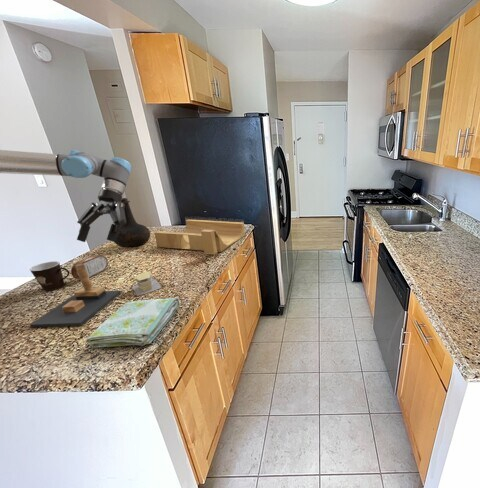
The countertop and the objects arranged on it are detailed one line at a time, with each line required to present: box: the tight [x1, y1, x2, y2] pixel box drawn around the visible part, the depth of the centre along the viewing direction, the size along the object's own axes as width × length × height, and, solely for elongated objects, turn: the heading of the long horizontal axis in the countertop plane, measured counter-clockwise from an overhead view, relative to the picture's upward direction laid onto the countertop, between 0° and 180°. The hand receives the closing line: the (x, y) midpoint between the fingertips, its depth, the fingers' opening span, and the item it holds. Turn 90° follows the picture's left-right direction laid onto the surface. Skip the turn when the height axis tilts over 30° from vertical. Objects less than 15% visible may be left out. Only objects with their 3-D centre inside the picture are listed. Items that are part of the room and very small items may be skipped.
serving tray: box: [29, 290, 122, 328], centre depth 96 cm, size 16×20×1 cm
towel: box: [84, 297, 180, 349], centre depth 86 cm, size 18×21×5 cm
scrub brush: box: [73, 264, 106, 300], centre depth 98 cm, size 8×4×14 cm, turn 94°
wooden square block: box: [62, 300, 85, 313], centre depth 93 cm, size 4×4×2 cm
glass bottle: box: [114, 197, 151, 249], centre depth 148 cm, size 18×18×28 cm
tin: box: [70, 254, 108, 280], centre depth 118 cm, size 15×3×8 cm, turn 172°
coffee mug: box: [29, 261, 70, 292], centre depth 108 cm, size 12×9×10 cm
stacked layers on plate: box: [131, 271, 163, 297], centre depth 109 cm, size 10×9×6 cm
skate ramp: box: [153, 216, 246, 259], centre depth 154 cm, size 40×35×16 cm
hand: (95, 240), depth 102 cm, fingers open, 13 cm apart
